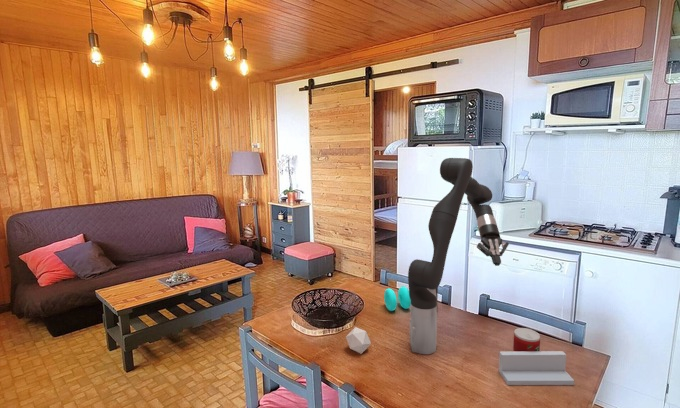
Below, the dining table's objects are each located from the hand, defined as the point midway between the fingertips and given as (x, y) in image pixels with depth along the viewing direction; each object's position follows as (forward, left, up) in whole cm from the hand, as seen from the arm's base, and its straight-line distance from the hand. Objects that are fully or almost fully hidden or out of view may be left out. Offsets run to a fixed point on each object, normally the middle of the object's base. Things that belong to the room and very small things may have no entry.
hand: (497, 264), depth 143 cm
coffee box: (-24, +16, -26) cm, 39 cm away
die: (-56, -17, -26) cm, 64 cm away
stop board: (0, -33, -26) cm, 42 cm away
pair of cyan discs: (-38, +16, -26) cm, 49 cm away
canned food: (0, -26, -26) cm, 37 cm away
